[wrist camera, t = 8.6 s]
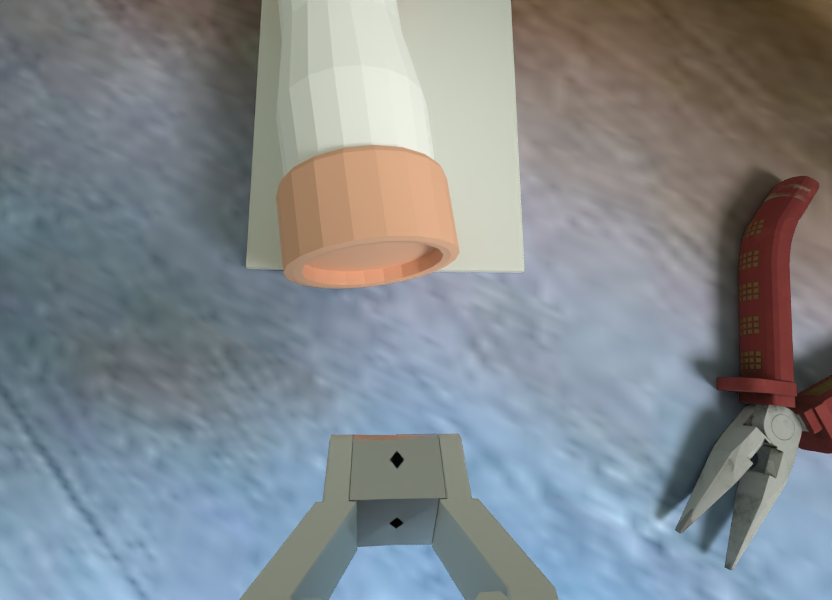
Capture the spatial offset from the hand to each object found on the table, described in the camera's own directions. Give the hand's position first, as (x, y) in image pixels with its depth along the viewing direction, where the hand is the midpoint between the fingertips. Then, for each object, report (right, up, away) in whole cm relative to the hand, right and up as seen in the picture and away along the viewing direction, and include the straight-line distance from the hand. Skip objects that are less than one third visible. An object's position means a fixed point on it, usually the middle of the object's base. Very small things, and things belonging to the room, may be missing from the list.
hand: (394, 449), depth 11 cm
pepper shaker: (-1, +5, +8) cm, 9 cm away
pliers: (+19, +1, +14) cm, 24 cm away
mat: (-1, +15, +14) cm, 21 cm away
